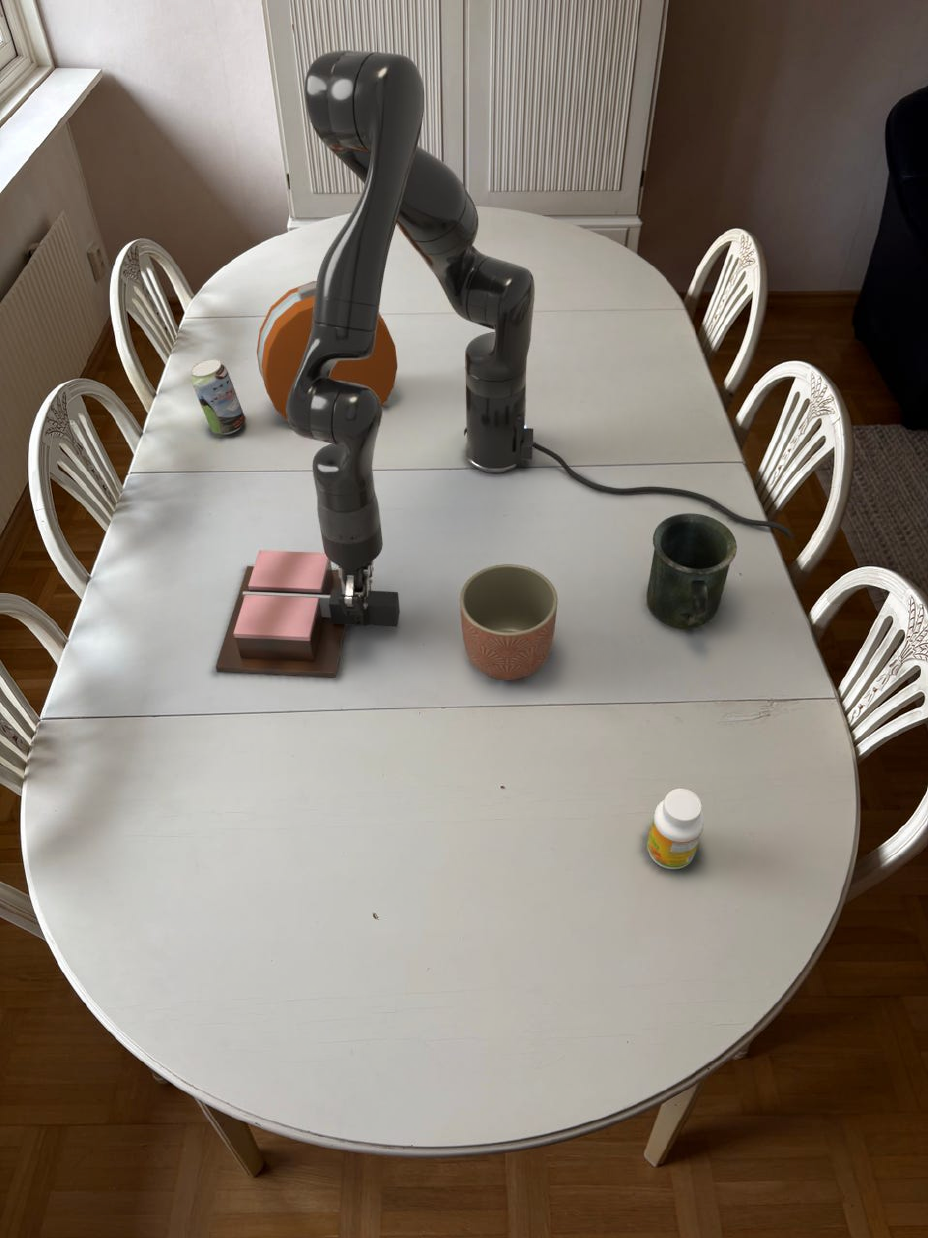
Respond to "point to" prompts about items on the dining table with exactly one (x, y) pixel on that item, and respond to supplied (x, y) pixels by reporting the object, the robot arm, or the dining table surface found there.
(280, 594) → the knife
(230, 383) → the beverage can
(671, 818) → the supplement bottle
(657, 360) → the dining table surface
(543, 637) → the planter
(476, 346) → the robot arm
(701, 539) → the mug
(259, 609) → the cake
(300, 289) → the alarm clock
